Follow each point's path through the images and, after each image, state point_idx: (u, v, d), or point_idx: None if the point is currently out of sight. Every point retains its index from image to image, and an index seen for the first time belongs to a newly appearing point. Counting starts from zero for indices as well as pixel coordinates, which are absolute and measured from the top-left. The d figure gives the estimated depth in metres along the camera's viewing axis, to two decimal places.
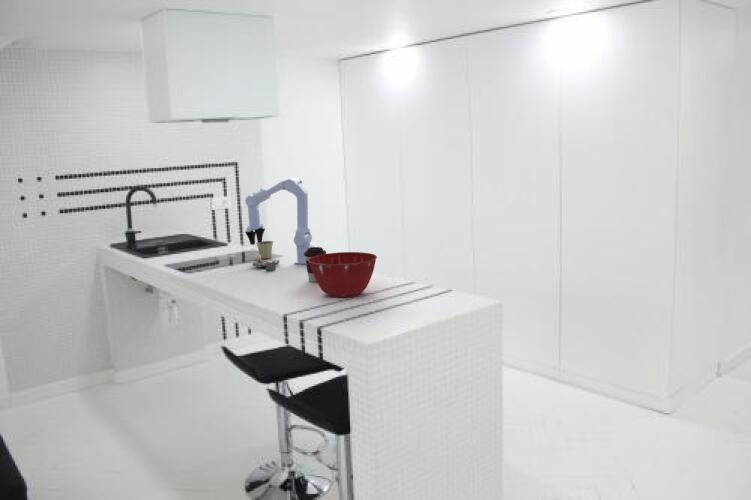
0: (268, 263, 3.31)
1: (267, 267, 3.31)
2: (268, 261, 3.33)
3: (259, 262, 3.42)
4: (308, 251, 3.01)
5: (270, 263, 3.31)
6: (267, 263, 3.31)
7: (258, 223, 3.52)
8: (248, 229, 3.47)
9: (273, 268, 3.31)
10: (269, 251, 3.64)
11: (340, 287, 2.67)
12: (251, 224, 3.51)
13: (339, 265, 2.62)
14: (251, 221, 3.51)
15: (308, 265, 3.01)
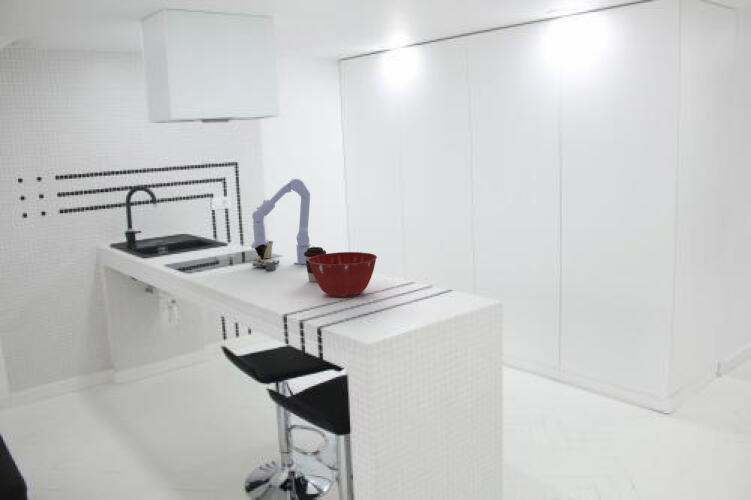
0: (268, 263, 3.31)
1: (267, 267, 3.31)
2: (268, 261, 3.33)
3: (259, 262, 3.42)
4: (308, 251, 3.01)
5: (270, 263, 3.31)
6: (267, 263, 3.31)
7: (263, 239, 3.42)
8: (253, 245, 3.37)
9: (273, 268, 3.31)
10: (269, 251, 3.64)
11: (340, 287, 2.67)
12: (256, 240, 3.41)
13: (339, 265, 2.62)
14: (256, 237, 3.40)
15: (308, 265, 3.01)
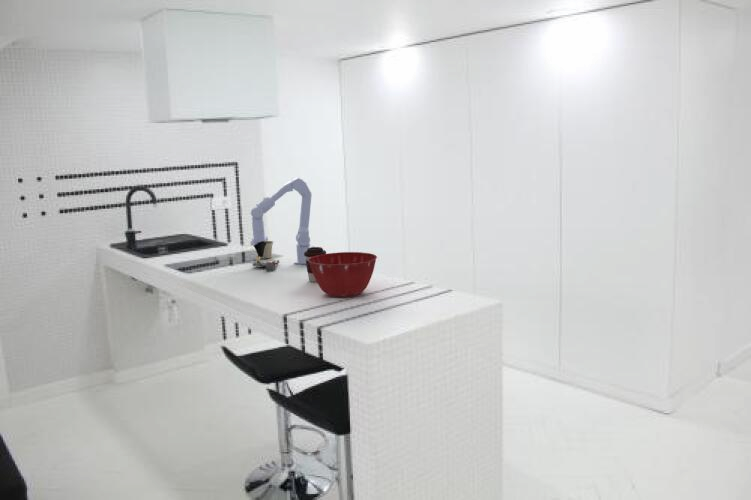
0: (268, 263, 3.31)
1: (267, 267, 3.31)
2: (268, 261, 3.33)
3: (261, 263, 3.40)
4: (308, 251, 3.01)
5: (270, 263, 3.31)
6: (267, 263, 3.31)
7: (263, 236, 3.39)
8: (252, 242, 3.35)
9: (273, 268, 3.31)
10: (269, 251, 3.64)
11: (340, 287, 2.67)
12: (255, 237, 3.38)
13: (339, 265, 2.62)
14: (255, 234, 3.38)
15: (308, 265, 3.01)
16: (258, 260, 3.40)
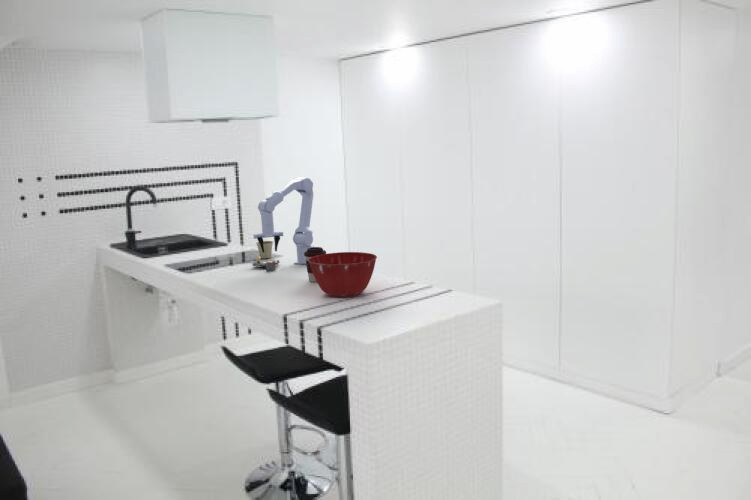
0: (268, 263, 3.31)
1: (267, 267, 3.31)
2: (268, 261, 3.33)
3: (261, 263, 3.40)
4: (308, 251, 3.01)
5: (270, 263, 3.31)
6: (267, 263, 3.31)
7: (267, 231, 3.27)
8: (253, 236, 3.28)
9: (273, 268, 3.31)
10: (269, 251, 3.64)
11: (340, 287, 2.67)
12: (262, 231, 3.29)
13: (339, 265, 2.62)
14: (262, 228, 3.29)
15: (308, 265, 3.01)
16: (258, 260, 3.40)
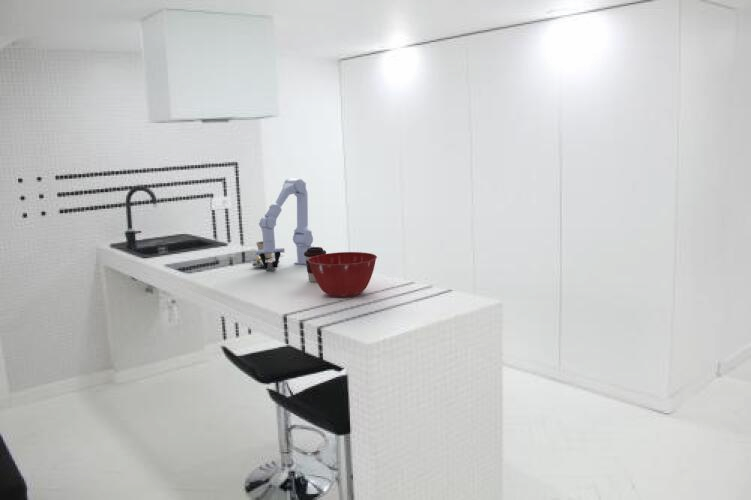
0: (268, 263, 3.31)
1: (267, 267, 3.31)
2: (268, 261, 3.33)
3: (261, 263, 3.40)
4: (308, 251, 3.01)
5: (270, 263, 3.31)
6: (267, 263, 3.31)
7: (268, 247, 3.28)
8: None
9: (273, 267, 3.31)
10: None
11: (340, 287, 2.67)
12: (263, 247, 3.31)
13: (339, 265, 2.62)
14: (263, 244, 3.30)
15: (308, 265, 3.01)
16: (258, 260, 3.40)
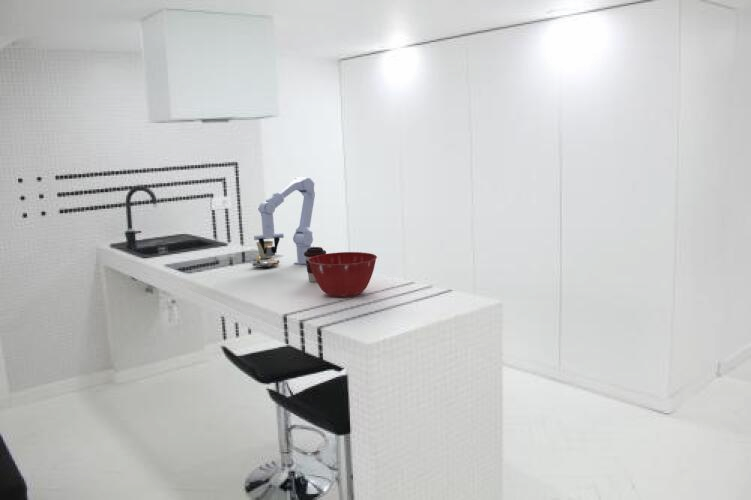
0: (267, 248, 3.32)
1: (266, 252, 3.32)
2: None
3: (261, 263, 3.40)
4: (308, 251, 3.01)
5: (269, 248, 3.31)
6: (266, 248, 3.32)
7: (267, 232, 3.29)
8: (254, 237, 3.30)
9: (272, 253, 3.32)
10: None
11: (340, 287, 2.67)
12: None
13: (339, 265, 2.62)
14: (262, 229, 3.31)
15: (308, 265, 3.01)
16: (258, 260, 3.40)
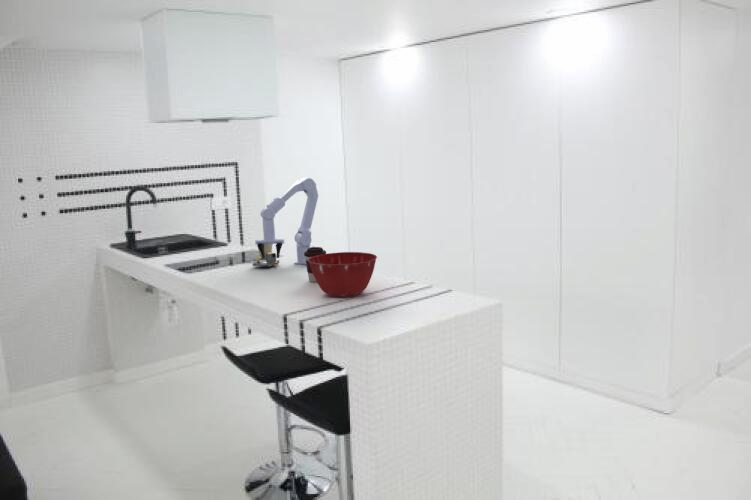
0: (267, 255, 3.39)
1: (267, 258, 3.40)
2: (269, 253, 3.41)
3: (261, 263, 3.40)
4: (308, 251, 3.01)
5: (269, 255, 3.38)
6: (267, 254, 3.39)
7: (266, 238, 3.36)
8: None
9: (272, 259, 3.39)
10: (269, 251, 3.64)
11: (340, 287, 2.67)
12: None
13: (339, 265, 2.62)
14: None
15: (308, 265, 3.01)
16: (258, 260, 3.40)
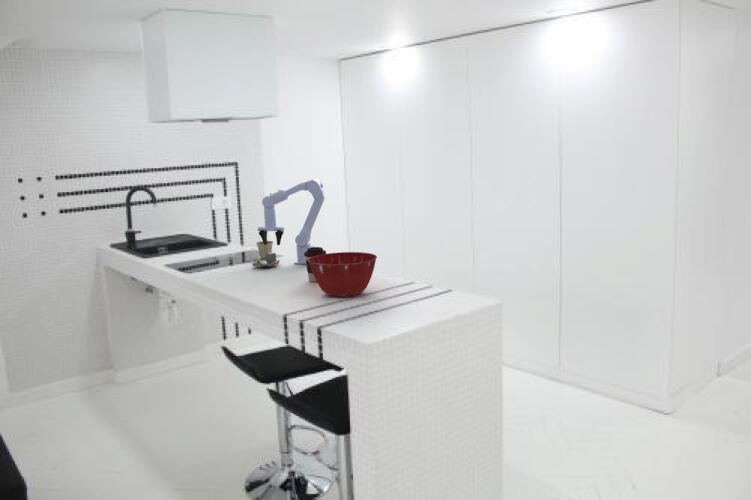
0: (267, 255, 3.39)
1: (267, 258, 3.40)
2: (269, 253, 3.41)
3: (261, 263, 3.40)
4: (308, 251, 3.01)
5: (269, 255, 3.38)
6: (267, 254, 3.39)
7: (266, 225, 3.44)
8: None
9: (272, 259, 3.39)
10: (269, 251, 3.64)
11: (340, 287, 2.67)
12: None
13: (339, 265, 2.62)
14: None
15: (308, 265, 3.01)
16: (258, 260, 3.40)
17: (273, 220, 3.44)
